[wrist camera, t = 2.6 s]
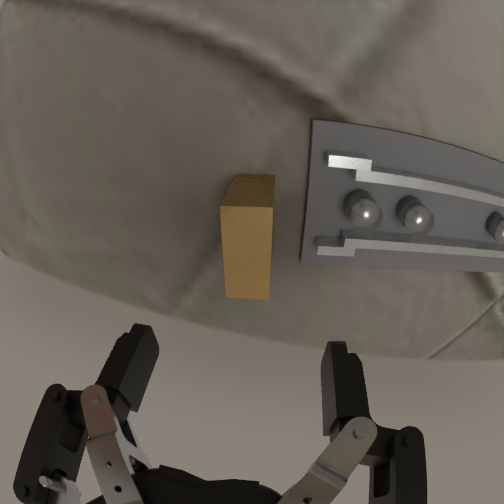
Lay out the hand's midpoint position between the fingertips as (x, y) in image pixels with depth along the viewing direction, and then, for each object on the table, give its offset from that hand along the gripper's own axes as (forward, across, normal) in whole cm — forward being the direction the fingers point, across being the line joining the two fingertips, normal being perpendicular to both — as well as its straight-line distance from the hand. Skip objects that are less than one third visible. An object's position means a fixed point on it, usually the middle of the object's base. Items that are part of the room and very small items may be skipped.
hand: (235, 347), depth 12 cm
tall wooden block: (+13, 0, 0) cm, 13 cm away
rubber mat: (+13, -18, -2) cm, 22 cm away
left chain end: (+12, -11, -2) cm, 16 cm away
